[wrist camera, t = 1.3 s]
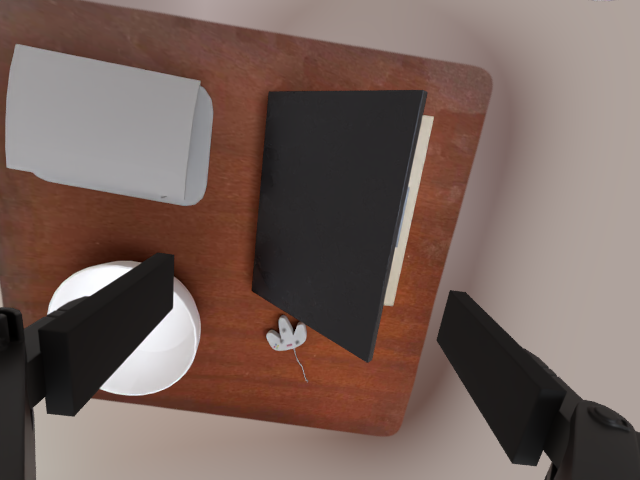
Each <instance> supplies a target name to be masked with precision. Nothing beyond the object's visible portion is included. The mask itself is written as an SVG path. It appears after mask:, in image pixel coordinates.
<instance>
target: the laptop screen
mask: <svg viewBox="0 0 640 480" xmlns="http://www.w3.org/2000/svg"><path fill="white" fill-rule="evenodd" d="M426 98H427V92H426V91H424V90H380V91H274V92H269V94H268V106H267V117H266V129H265V141H264V152H263V164H262V176H261V187H260V199H259V211H258V222H257V234H256V246H255V257H254V269H253V281H252V291H253V292H254V293H256V294H257V295H259V296H261V297H262V298H264V299H265V300H267V301H269V302H270V303H272V304H273V305H275V306H277V307H278V308H280V309H282V310H283V311H285V312H286V313H288V314H290V315H291V316H293V317H294V318H296V319H298V320H299V321H301V322H303V323H304V324H306V325H307V326H309V327H311V328H312V329H314V330H315V331H317V332H319V333H320V334H322V335H323V336H325V337H327V338H328V339H330V340H332V341H333V342H335V343H336V344H338V345H340V346H341V347H343V348H344V349H346V350H348V351H349V352H351V353H353V354H354V355H356V356H357V357H359V358H361V359H362V360H364V361H365V362H367V363H368V362H370V361H371V360H372V358H373V353H374V348H375V343H376V338H377V333H378V329H379V324H380V319H381V314H382V309H383V305H384V300H385V295H386V290H387V285H388V281H389V276H390V271H391V266H392V261H393V256H394V252H395V247H396V242H397V237H398V232H399V228H400V223H401V218H402V213H403V208H404V204H405V199H406V194H407V189H408V184H409V179H410V175H411V170H412V165H413V160H414V155H415V151H416V146H417V141H418V136H419V131H420V127H421V122H422V117H423V112H424V107H425V102H426Z"/></svg>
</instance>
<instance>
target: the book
mask: <svg viewBox="0 0 640 480" xmlns="http://www.w3.org/2000/svg"><path fill="white" fill-rule="evenodd" d="M200 82H201V81H199V80H194V79H189V78H184V77H179V76H174V75H169V74H164V73H159V72H154V71H149V70H144V69H139V68H134V67H129V66H124V65H119V64H114V63H109V62H104V61H99V60H94V59H89V58H84V57H79V56H74V55H69V54H64V53H59V52H54V51H49V50H44V49H39V48H34V47H29V46H24V45H19V44H16V46H15V50H14V55H13V59H12V63H11V67H10V73H9V82H8V90H7V103H6V145H5V149H6V163H7V168H12V169H17V170H23V171H28V172H33V173H34V174H35V175H36V176H37V177H39V178H41V179H44V180H46V181H49V182H54V183H60V184H65V185H71V186H77V187H82V188H88V189H93V190H99V191H104V192H110V193H116V194H121V195H127V196H132V197H138V198H143V199H149V200H154V201H160V202H166V203H171V204H177V205H182V206H187V205H195V204H196V203H197V202H198V201H200V200H201V199H202V198H203V196H204V193H205V190H206V187H207V177H208V166H209V155H210V144H211V133H212V122H213V107H212V100H211V98H210V96H209V95H208V93H207V92H206V90H205V89H204V88H203V87H201V86H200Z"/></svg>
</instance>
